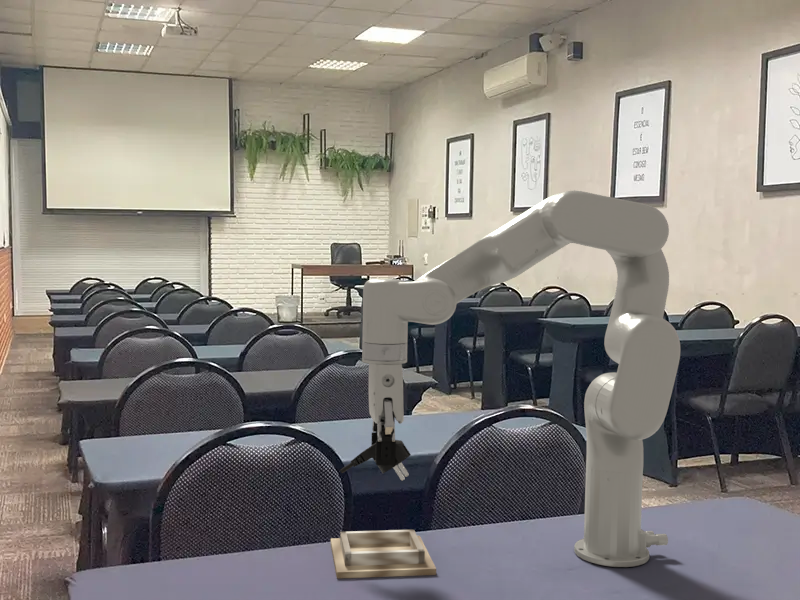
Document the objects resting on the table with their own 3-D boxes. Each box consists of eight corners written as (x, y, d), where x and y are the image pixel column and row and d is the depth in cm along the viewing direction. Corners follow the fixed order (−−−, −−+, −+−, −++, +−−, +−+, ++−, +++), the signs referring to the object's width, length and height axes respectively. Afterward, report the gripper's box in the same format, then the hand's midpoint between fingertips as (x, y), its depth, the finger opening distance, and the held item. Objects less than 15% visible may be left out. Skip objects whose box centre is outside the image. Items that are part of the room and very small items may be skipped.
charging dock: (419, 541, 152) (420, 524, 152) (436, 574, 136) (436, 556, 136) (330, 544, 150) (330, 527, 150) (336, 578, 134) (337, 559, 134)
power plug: (344, 463, 148) (398, 427, 145) (367, 500, 147) (423, 465, 144) (333, 471, 142) (389, 434, 139) (357, 510, 141) (415, 473, 138)
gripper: (415, 359, 133) (413, 473, 134) (399, 347, 150) (397, 448, 151) (367, 359, 132) (366, 474, 133) (357, 347, 149) (356, 448, 150)
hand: (383, 459), depth 142 cm, fingers closed on power plug, 5 cm apart
